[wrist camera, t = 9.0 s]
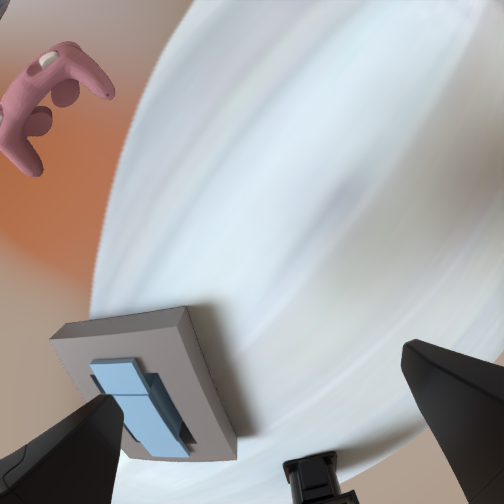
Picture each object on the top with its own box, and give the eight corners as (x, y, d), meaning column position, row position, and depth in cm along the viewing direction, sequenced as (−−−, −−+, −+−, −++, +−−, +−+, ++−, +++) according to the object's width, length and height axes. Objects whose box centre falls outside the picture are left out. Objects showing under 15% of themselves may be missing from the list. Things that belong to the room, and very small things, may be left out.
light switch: (237, 437, 23) (236, 459, 20) (136, 439, 23) (129, 458, 20) (185, 305, 19) (176, 326, 16) (66, 323, 19) (48, 339, 16)
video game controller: (112, 71, 16) (62, 22, 9) (123, 95, 15) (61, 38, 8) (36, 151, 17) (-19, 123, 10) (38, 186, 16) (-28, 159, 9)
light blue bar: (147, 335, 20) (130, 364, 16) (194, 429, 23) (189, 459, 19) (108, 339, 20) (87, 365, 16) (159, 430, 23) (151, 457, 19)
